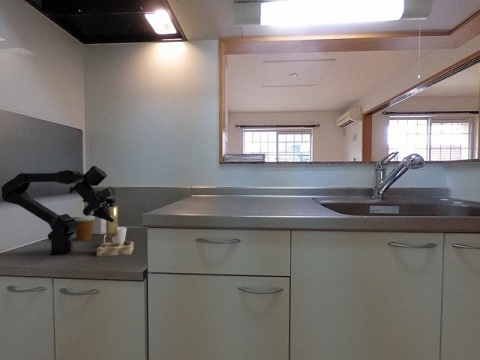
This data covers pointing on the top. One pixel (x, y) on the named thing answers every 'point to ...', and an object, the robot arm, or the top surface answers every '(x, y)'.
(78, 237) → the disposable coffee cup
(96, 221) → the skincare box
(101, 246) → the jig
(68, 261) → the top surface
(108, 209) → the tan piece
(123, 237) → the cup
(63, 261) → the top surface
